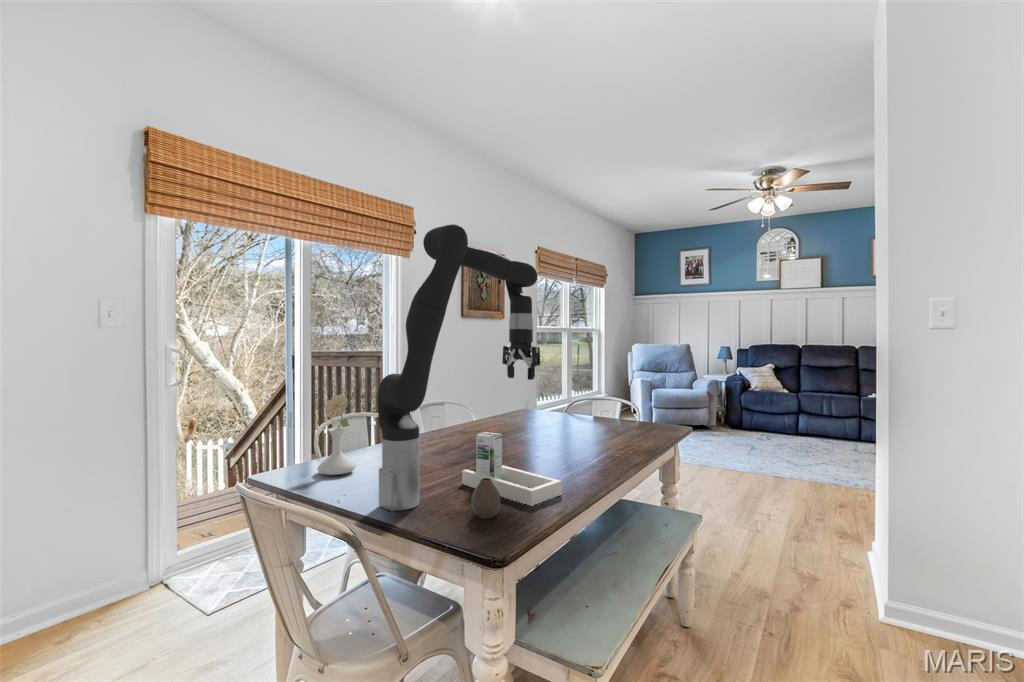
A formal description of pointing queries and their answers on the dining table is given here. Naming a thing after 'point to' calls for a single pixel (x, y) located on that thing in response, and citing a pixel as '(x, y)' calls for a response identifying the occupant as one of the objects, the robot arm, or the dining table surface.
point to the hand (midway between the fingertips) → (520, 378)
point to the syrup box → (489, 454)
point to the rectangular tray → (518, 485)
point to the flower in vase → (336, 440)
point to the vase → (486, 499)
